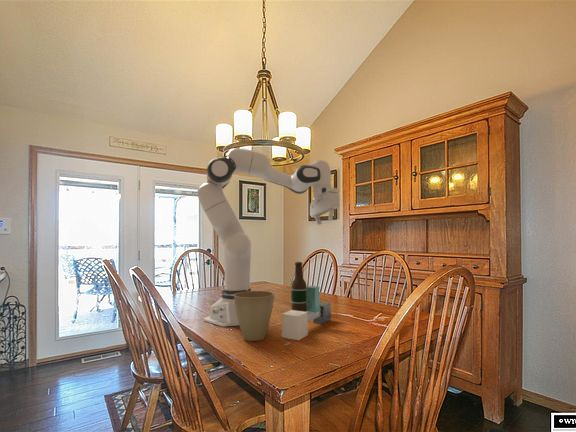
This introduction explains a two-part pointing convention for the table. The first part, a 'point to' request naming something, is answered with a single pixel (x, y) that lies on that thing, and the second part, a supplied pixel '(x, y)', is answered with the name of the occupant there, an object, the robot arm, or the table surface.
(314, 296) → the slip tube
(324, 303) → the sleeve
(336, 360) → the table surface
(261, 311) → the plant pot
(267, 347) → the table surface
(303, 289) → the beer bottle
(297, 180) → the robot arm
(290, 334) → the socket block
